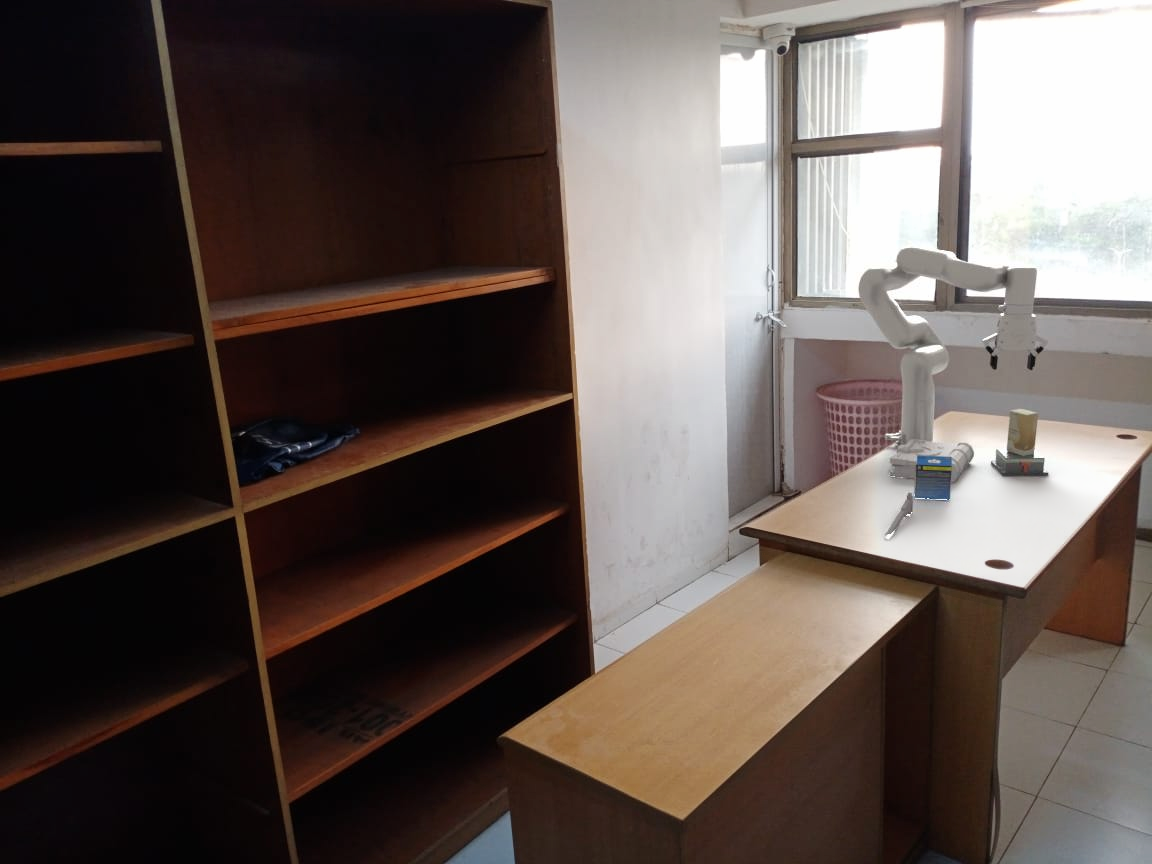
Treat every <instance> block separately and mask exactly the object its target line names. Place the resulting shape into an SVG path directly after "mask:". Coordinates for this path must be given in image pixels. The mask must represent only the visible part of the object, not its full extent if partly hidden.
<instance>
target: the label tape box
mask: <svg viewBox="0 0 1152 864" xmlns="http://www.w3.org/2000/svg"><path fill="white" fill-rule="evenodd" d="M933 459H935V460H937V461H940V463H932V462H928V460H933ZM951 464H952V457H945V456H924V455H917V464H916V466H915V479H914V491H913V494H915V496H914V499H915V498H925V499H927V498H929V499H947V500H949V499H950V500H951V489H952V488H951V487H952V483H951V474H952V466H951Z"/></svg>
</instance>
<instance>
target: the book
mask: <svg viewBox="0 0 1152 864" xmlns="http://www.w3.org/2000/svg"><path fill="white" fill-rule="evenodd" d="M917 455H924V456H945V457H952V464H951V466H952V474H951V484H952V483H955V482H956V479H957V478H958V477H959V476H960V475H961V474H962V471H963V470H964V469H966V468H967V466H968V465H969V464H970V463H971V462H972V460H973V459H974V458H975V457H974V456H975V451H974V449H973V447H972V445H971V444H969V443H968V442H964V441H962V442H961V441H960V442H957V443H951V442H950V443H949V442H938V441H936V442H928V441H926V440H917V439H910V440H909V441H908V442H907V444H906V445H902V444H901V445H900V446H899V447H897V448H896V453H895V454H893V455H892V456H890V458H889V462H888V464H890V465H891V467H893V468H891V469H890V471H889V477H890V476H895V477H894V478H896V477H903V478H902V479H905V478H906V479H914V480H915V466H916V464H917ZM928 462H932V463H940V461H937V460H935V459H933V460H928Z"/></svg>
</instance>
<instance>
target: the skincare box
mask: <svg viewBox="0 0 1152 864" xmlns="http://www.w3.org/2000/svg"><path fill="white" fill-rule="evenodd" d="M1038 416H1039V412H1035V411H1032V410H1027V409H1023V408H1017V409H1011V410H1010V411H1009V422H1008V433H1007V443H1006V448H1007V451H1008V452H1012V453H1015V454H1018V455H1021V456H1026V455H1031V454H1034V450H1036V448H1035V447H1036V437H1037V428H1038V418H1039V417H1038Z"/></svg>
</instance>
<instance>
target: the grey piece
mask: <svg viewBox="0 0 1152 864" xmlns="http://www.w3.org/2000/svg"><path fill="white" fill-rule="evenodd" d="M990 465H991V466H992V467H993V468H994V469H995V470H996V471H997V472H998V473H999V474H1000V476H1002V477H1049V471H1048V470H1047V469H1045V457H1044V456H1043V455H1042V454H1040V453H1039V451H1037V450H1036V449H1035V450H1034V454H1031V455H1026V456H1021V455H1018V454H1015V453H1012V452H1008V451H1007V447H1006V448H1003V447H1001V448H996V450H995V460H991V461H990Z"/></svg>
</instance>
